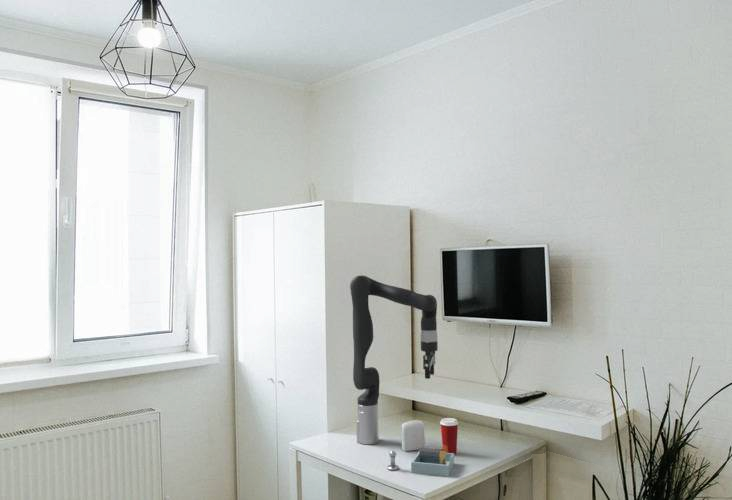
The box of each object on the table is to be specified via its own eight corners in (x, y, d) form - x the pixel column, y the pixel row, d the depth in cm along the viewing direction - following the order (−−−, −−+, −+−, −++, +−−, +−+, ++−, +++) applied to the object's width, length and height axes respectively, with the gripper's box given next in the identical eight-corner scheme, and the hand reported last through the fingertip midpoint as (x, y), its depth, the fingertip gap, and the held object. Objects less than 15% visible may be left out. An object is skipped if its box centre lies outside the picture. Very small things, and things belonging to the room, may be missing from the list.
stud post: (386, 470, 227) (385, 452, 227) (389, 466, 231) (388, 448, 231) (396, 471, 225) (396, 453, 225) (399, 467, 230) (399, 449, 230)
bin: (411, 472, 224) (411, 462, 224) (419, 460, 237) (419, 450, 237) (448, 476, 219) (448, 465, 219) (454, 463, 233) (454, 453, 233)
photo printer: (404, 452, 247) (403, 423, 247) (400, 449, 251) (399, 420, 251) (426, 449, 250) (425, 420, 250) (422, 446, 254) (421, 418, 254)
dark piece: (444, 468, 225) (444, 452, 225) (419, 465, 228) (419, 450, 228) (446, 464, 229) (446, 449, 229) (421, 462, 232) (421, 447, 232)
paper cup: (461, 451, 247) (460, 418, 247) (456, 457, 240) (455, 423, 240) (443, 449, 250) (442, 416, 250) (438, 454, 243) (437, 421, 243)
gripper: (424, 337, 265) (424, 372, 265) (417, 342, 252) (417, 379, 252) (440, 337, 263) (441, 373, 263) (434, 342, 249) (434, 380, 249)
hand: (429, 376), depth 257 cm, fingers open, 8 cm apart
